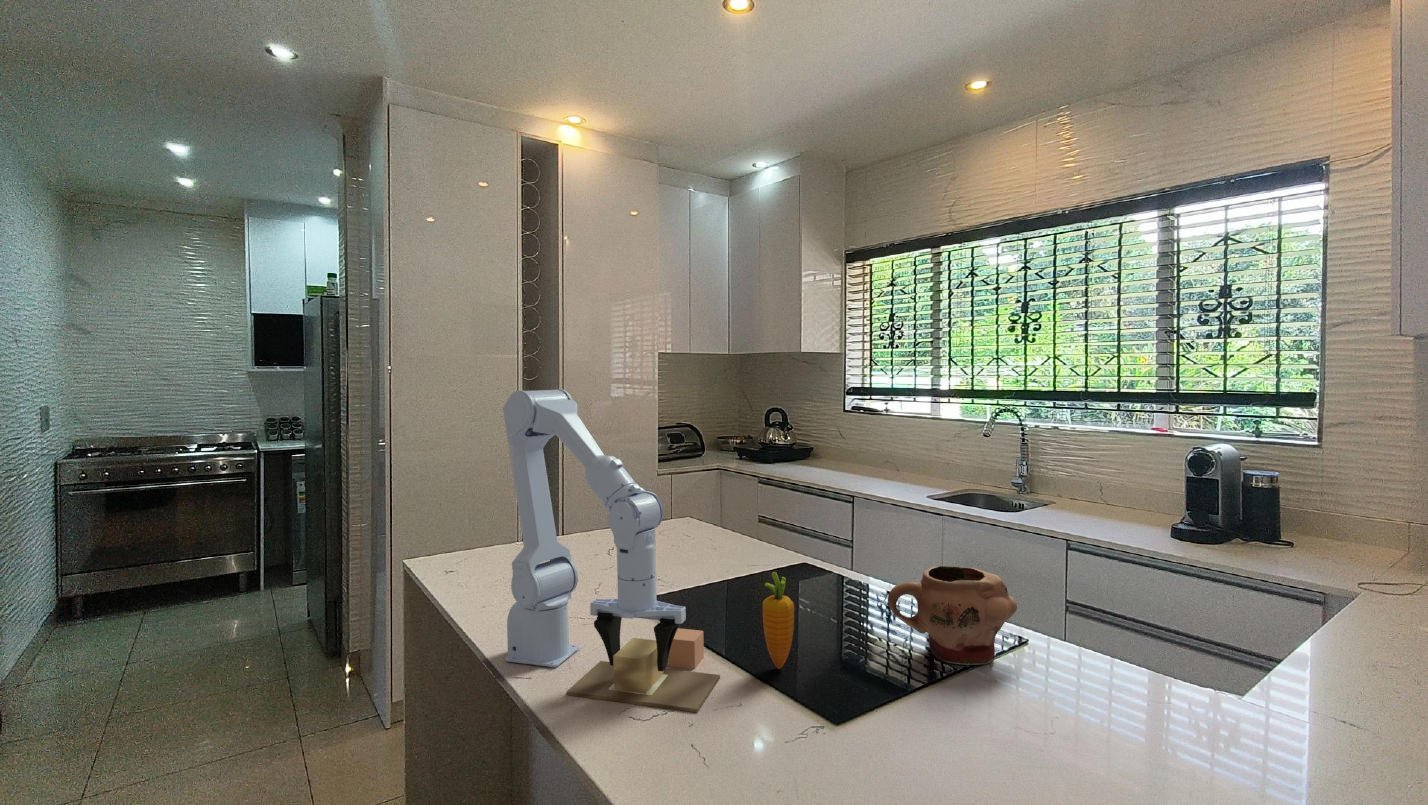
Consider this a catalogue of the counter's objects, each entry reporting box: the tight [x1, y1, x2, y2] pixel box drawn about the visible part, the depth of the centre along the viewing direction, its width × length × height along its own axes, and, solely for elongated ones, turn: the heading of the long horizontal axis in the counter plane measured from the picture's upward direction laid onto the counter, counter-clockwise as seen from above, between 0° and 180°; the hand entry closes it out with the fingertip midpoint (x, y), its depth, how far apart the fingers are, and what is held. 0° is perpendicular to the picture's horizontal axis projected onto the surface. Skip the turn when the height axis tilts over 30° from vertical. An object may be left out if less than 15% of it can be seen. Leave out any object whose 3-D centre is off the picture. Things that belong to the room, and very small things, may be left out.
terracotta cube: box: [667, 627, 705, 670], centre depth 110 cm, size 4×4×4 cm
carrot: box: [762, 571, 795, 670], centre depth 107 cm, size 5×5×15 cm
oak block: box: [613, 637, 664, 694], centre depth 102 cm, size 5×7×5 cm
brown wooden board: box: [566, 660, 721, 714], centre depth 102 cm, size 20×11×1 cm, turn 73°
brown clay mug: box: [887, 565, 1018, 666], centre depth 111 cm, size 20×12×14 cm, turn 89°
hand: (638, 665), depth 102 cm, fingers open, 7 cm apart
